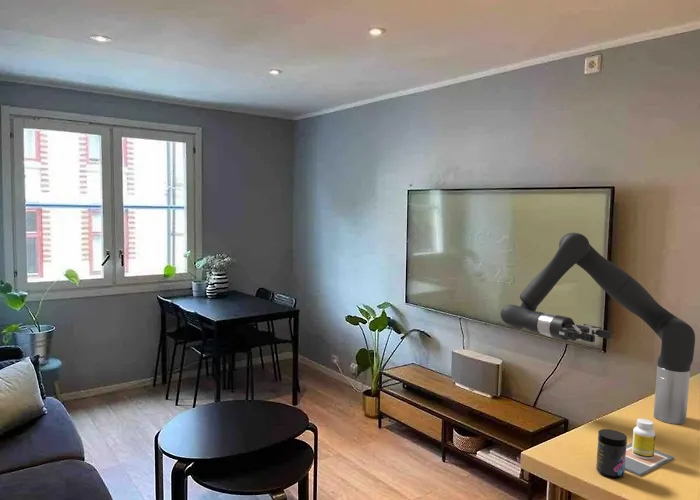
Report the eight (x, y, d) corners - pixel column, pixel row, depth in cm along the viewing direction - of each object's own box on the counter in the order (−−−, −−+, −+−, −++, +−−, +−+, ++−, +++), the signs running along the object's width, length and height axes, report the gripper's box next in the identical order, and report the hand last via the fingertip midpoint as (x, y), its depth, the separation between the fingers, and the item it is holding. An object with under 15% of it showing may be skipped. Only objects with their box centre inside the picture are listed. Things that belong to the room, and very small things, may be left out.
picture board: (634, 443, 156) (634, 441, 156) (674, 459, 147) (674, 456, 147) (599, 458, 146) (599, 456, 146) (639, 476, 137) (639, 473, 137)
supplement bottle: (656, 461, 144) (659, 426, 143) (635, 458, 145) (637, 424, 144) (649, 452, 150) (652, 418, 149) (628, 450, 151) (631, 416, 150)
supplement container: (610, 481, 134) (613, 441, 133) (589, 468, 141) (592, 430, 140) (630, 477, 137) (633, 438, 136) (609, 465, 143) (612, 427, 142)
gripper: (542, 317, 170) (589, 327, 156) (569, 312, 178) (616, 322, 164) (541, 340, 170) (588, 352, 157) (568, 335, 178) (614, 346, 165)
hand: (602, 337), depth 160 cm, fingers open, 8 cm apart
